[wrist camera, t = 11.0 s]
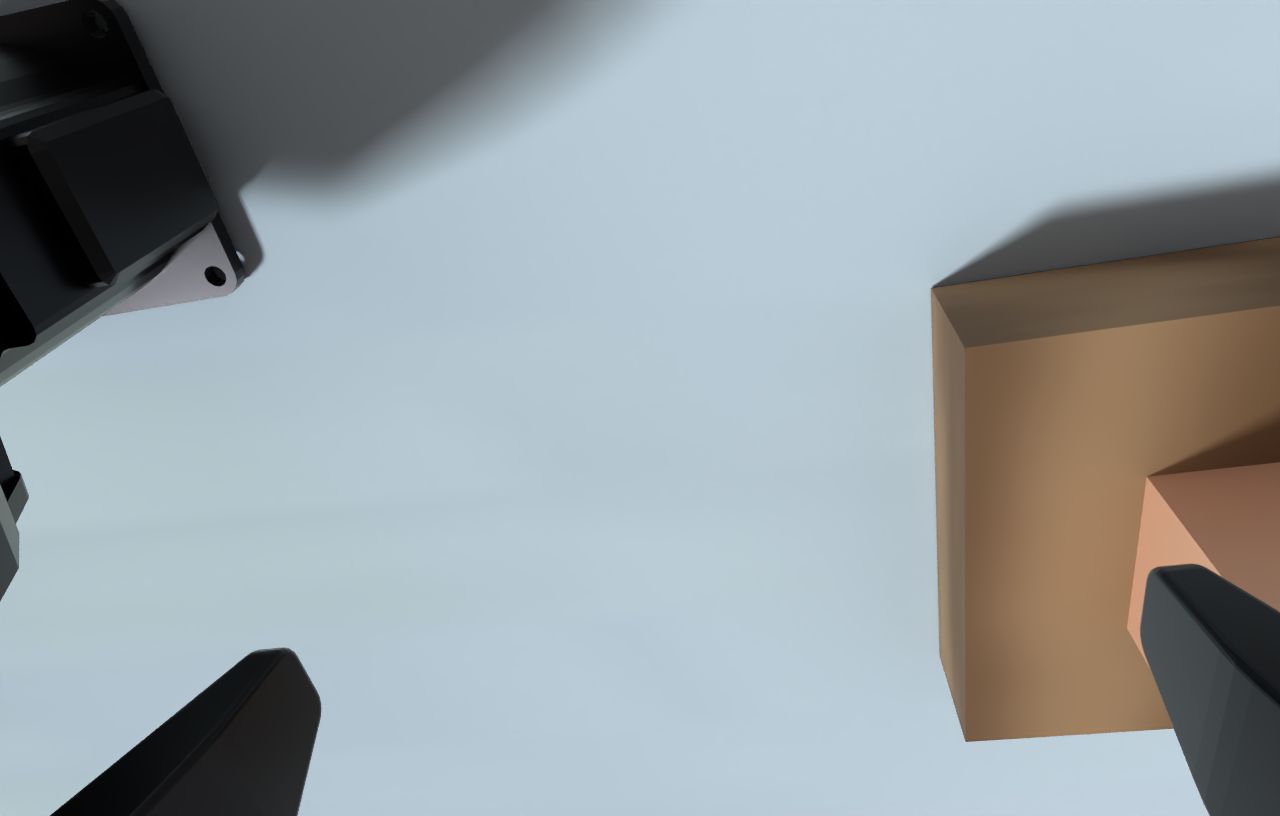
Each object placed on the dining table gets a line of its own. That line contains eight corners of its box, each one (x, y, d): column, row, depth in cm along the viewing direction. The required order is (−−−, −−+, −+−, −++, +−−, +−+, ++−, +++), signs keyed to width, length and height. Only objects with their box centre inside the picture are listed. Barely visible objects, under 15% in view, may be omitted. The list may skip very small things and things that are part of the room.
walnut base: (939, 656, 25) (965, 741, 23) (931, 288, 19) (964, 347, 17) (1389, 620, 23) (1472, 709, 21) (1532, 199, 17) (1674, 252, 15)
